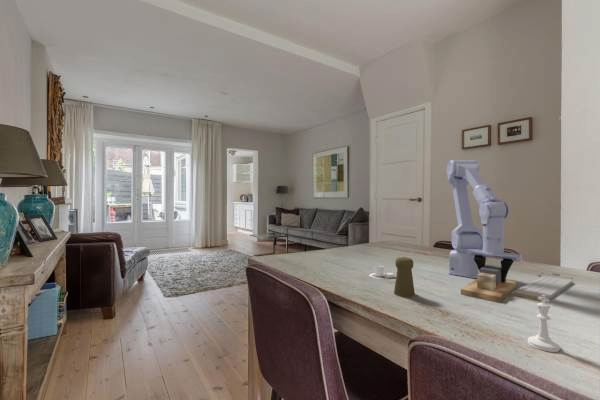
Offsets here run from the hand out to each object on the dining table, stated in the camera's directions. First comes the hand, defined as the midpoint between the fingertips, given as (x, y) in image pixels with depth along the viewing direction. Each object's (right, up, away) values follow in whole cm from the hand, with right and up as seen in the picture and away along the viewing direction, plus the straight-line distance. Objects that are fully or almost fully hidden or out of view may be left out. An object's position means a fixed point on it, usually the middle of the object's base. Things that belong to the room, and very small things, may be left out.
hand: (493, 280), depth 96 cm
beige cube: (-5, -1, -5) cm, 8 cm away
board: (-3, -2, -2) cm, 4 cm away
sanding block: (0, -1, 0) cm, 1 cm away
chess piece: (-15, -3, -38) cm, 40 cm away
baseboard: (+15, -3, 0) cm, 16 cm away
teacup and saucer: (-33, -3, +11) cm, 35 cm away
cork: (-31, -3, -6) cm, 32 cm away
